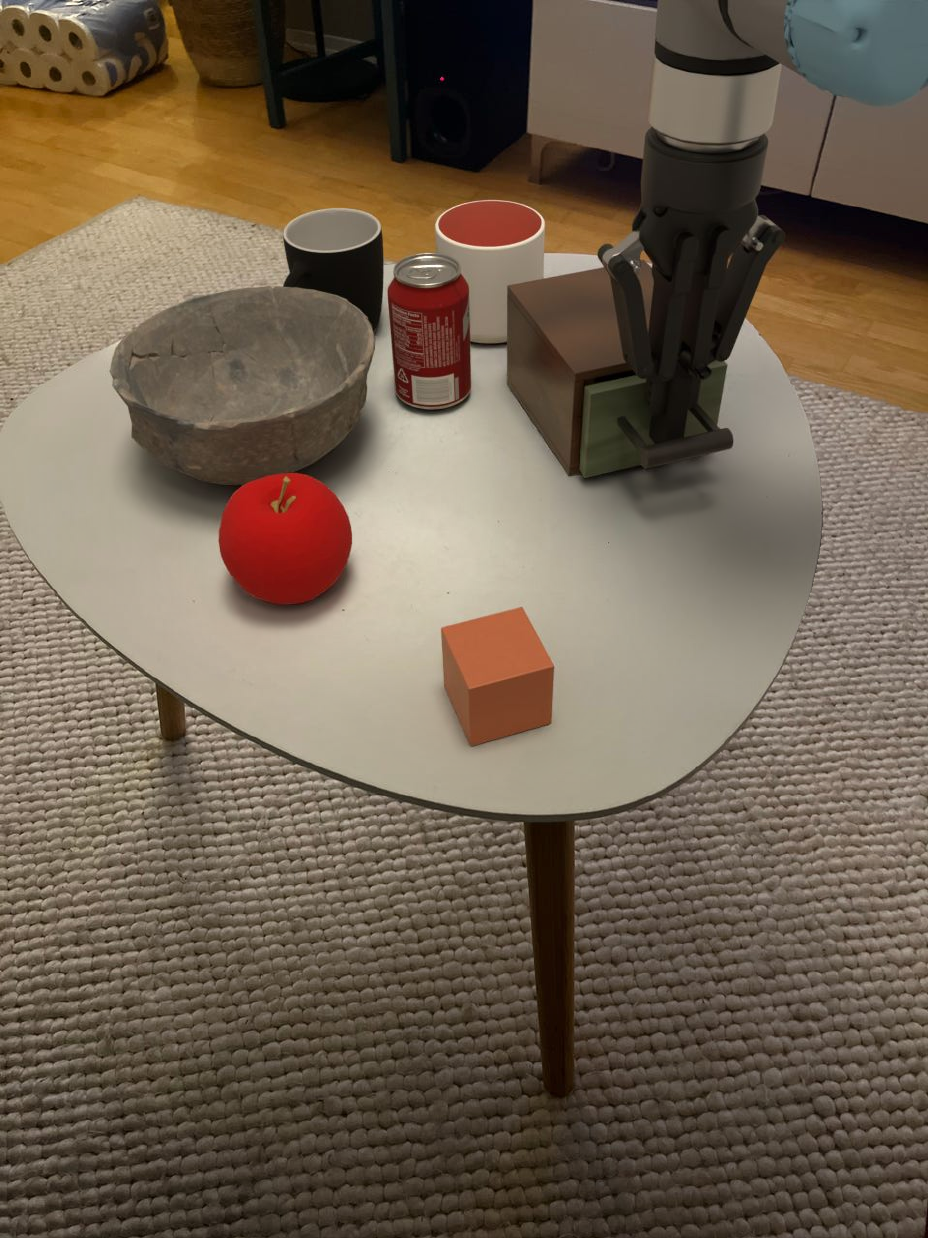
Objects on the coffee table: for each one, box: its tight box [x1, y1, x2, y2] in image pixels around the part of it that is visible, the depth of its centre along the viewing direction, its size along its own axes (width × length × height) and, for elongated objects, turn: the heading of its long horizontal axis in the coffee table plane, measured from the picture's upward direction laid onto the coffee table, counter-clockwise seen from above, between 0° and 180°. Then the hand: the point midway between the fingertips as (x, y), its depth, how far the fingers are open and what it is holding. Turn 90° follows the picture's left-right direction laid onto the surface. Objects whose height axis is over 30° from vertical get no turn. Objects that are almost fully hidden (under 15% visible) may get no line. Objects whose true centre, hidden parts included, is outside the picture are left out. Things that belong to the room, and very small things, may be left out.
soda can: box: [386, 252, 472, 411], centre depth 91 cm, size 7×7×12 cm
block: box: [440, 606, 555, 747], centre depth 68 cm, size 6×6×6 cm
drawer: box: [579, 360, 734, 478], centre depth 86 cm, size 19×11×8 cm, turn 19°
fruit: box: [218, 472, 353, 605], centre depth 75 cm, size 9×9×10 cm
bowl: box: [109, 285, 376, 486], centre depth 86 cm, size 21×21×10 cm
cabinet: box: [506, 259, 680, 477], centre depth 89 cm, size 15×13×10 cm
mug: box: [282, 207, 385, 333], centre depth 99 cm, size 12×9×10 cm
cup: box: [434, 199, 546, 344], centre depth 100 cm, size 10×10×10 cm
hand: (665, 443), depth 82 cm, fingers closed
